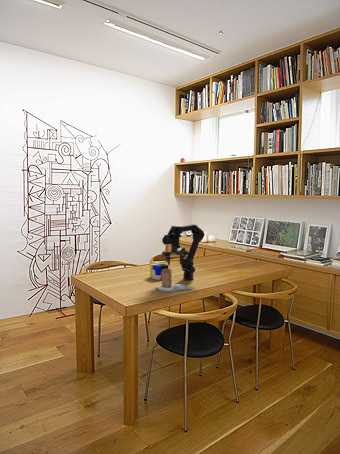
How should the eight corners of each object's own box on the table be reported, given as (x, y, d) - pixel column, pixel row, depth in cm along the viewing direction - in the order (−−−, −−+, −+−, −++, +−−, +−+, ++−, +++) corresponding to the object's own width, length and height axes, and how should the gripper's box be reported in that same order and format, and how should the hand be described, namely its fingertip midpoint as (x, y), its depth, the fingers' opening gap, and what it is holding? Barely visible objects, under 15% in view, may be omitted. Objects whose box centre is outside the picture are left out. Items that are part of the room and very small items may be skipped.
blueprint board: (182, 285, 237) (182, 281, 237) (190, 289, 226) (190, 286, 226) (155, 288, 228) (155, 284, 227) (162, 292, 217) (162, 289, 217)
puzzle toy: (157, 279, 250) (157, 266, 250) (150, 277, 259) (150, 264, 258) (168, 278, 256) (168, 265, 255) (160, 275, 264) (160, 263, 263)
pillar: (165, 287, 227) (165, 268, 226) (171, 288, 225) (171, 269, 224) (162, 288, 223) (162, 269, 222) (167, 289, 221) (168, 270, 220)
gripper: (168, 245, 229) (168, 268, 231) (192, 244, 238) (191, 266, 239) (161, 243, 239) (161, 265, 241) (184, 242, 248) (184, 263, 249)
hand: (174, 264), depth 242 cm, fingers open, 9 cm apart
